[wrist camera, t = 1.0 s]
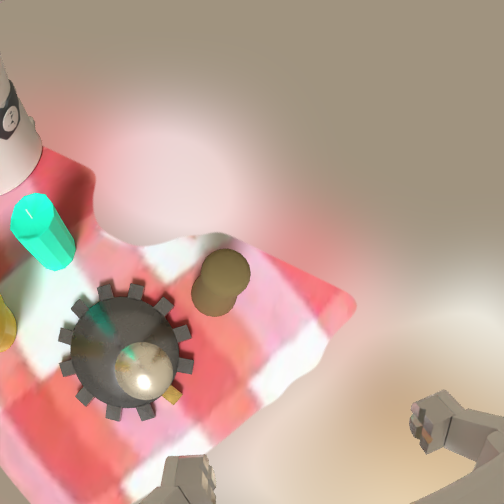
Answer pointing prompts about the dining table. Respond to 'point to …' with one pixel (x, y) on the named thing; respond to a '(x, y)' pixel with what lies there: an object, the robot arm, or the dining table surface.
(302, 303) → the dining table surface
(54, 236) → the candle
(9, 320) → the plant pot
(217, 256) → the cork
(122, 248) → the dining table surface
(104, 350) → the sprocket plate
